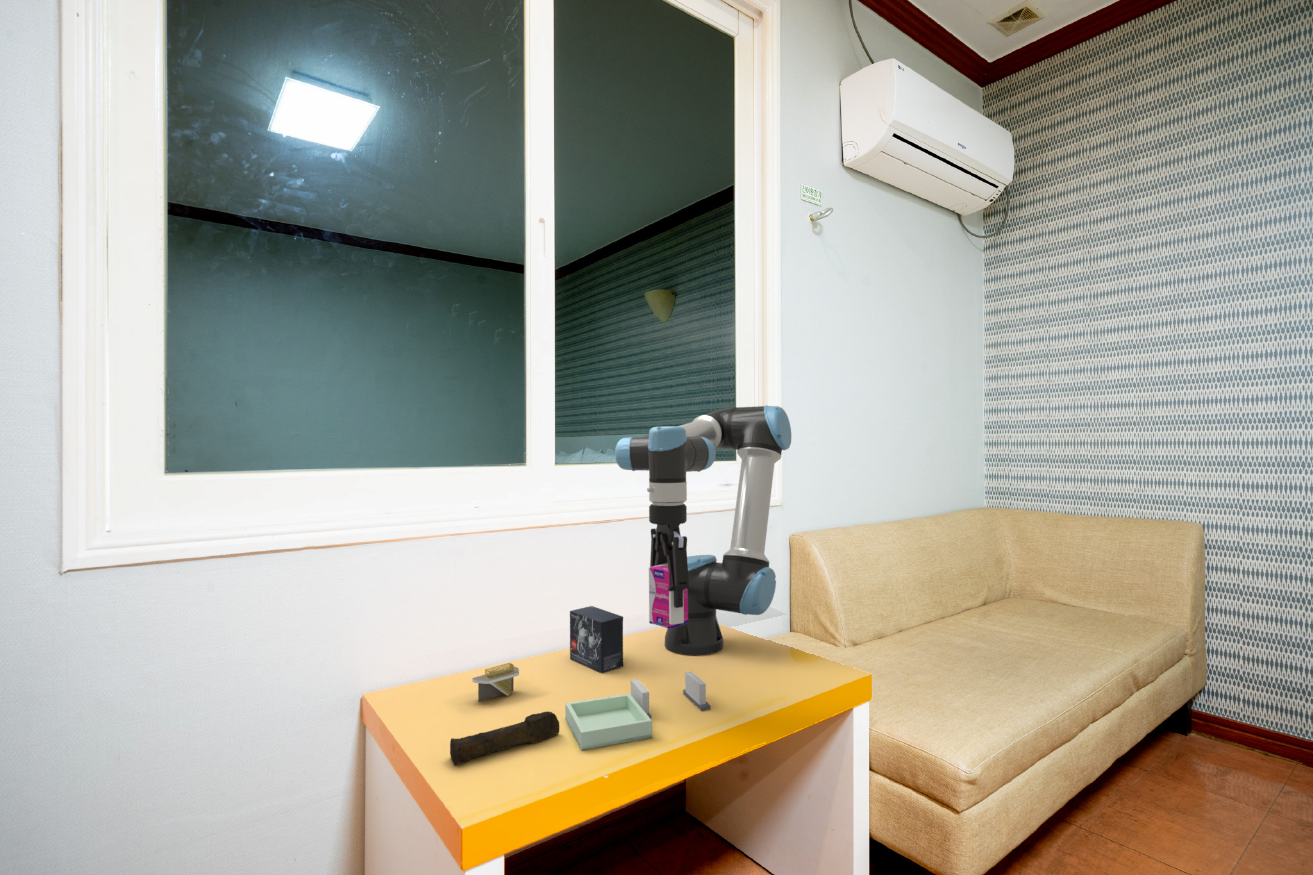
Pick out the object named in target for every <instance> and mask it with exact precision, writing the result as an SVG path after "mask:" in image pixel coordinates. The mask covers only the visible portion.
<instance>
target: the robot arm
mask: <svg viewBox="0 0 1313 875" xmlns="http://www.w3.org/2000/svg"><path fill="white" fill-rule="evenodd" d="M791 444H792V428H791V423H790V420H789V417H788V414H787V412H786V411H785V409H783V407H781V406H779V405H776V406H775V405H767V404H766V405H761V406H759V405H758V406H738V407H726V408H723V409H718V410H715V411H712V412H708V413H705V414H702V415H699V416H697V417H695V418H694V419H693V420H692V421H690V422H688V423H685V424H681V425H678V426H677V425H676V426H675V425H674V426H672V425H671V426H668V425H667V426H653V427H651V428H650V429H649V432H648V434H646V435H642V436H636V437H635V436H629V437H623V438H621V439H619V441H618V442H617V443H616V445H615V449H614V454H615V461H616V463H617V464H616V465H617V466H618V467H619V468H621V469H622V470H626V471H632V472H635V471H645V472H646V471H647V472H648V473H649V474H648V475H649V476H648V484H649V485H648V487H647V488H646V491H647V493H649V494H648V495H649V496H648V498H649V500H648V501H649V502H650V503H651V504H650V505H649V506H648V516H649V518H648V521H649V523H651V524H653V525H656V528H651V529H650V539H651V541H650V563H649V567H653V566H657V565H661V564H664V563H668V569H669V571H670V583H671V588H668V591H669V624H671V625H672V624H680V623H684V590H685V589H688V623H687V624H684V625H681V626H678V627H675V628H672V629H668V628H666V632H665V635H664V648H665V649H666V650H668V651H671V652H673V653H675V654H680V655H685V656H686V655H687V656H705V655H712V654H715V653H718V652H721V650H723V648H724V636H723V634H722V631H721V626H720V624H719V620H718V618H717V610H719V611H723V612H730V613H737V614H741V615H744V616H745V615H746V616H747V615H751V616H752V615H753V616H760V615H763V614H764V613H765V612H767V610H768V609H769V607H770V606H771V604H772V602H773V599H774V597H775V596H774V595H775V592H776V588H777V580H776V579H777V578H776V577H777V576H776V573H775V571H774V569H773V568H771V567H770V560H769V559H768V557H767V556H766V555H765V550H766V542H767V532H768V524H769V516H770V507H771V506H770V505H771V496H772V489H773V479H774V472H775V471H774V470H775V464H776V463H777V462H779V461H780V460H781V459H782V454H783V453H782V452H783V451H787V450H789V448H790V446H791ZM716 450H734V451H735V450H736V454H737V455H738V456H739V458H740V459H741V464H740V471H739V477H738V478H739V480H738V485H737V486H738V487H737V495H736V501H735V502H736V503H735V508H734V518H733V524H732V525H733V526H732V532H731V540H730V548H729V550H727V551H726V552H725V553H723V555H722V562H717V561H718V559H717V558H716V556H715V555H712V554H699V555H698V554H697V555H690V556H689V555H688V552H687V546H688V537H687V536H686V535H685V536H682V535H681V530H680V526H681V524H682V525H683V524H685V523H687V519H688V517H687V515H688V514H687V510H688V509H687V505H686V504H685V502H687V500H688V498H687V496H688V492H687V491H688V489H687V488H688V487H687V473H691V472H698V473H699V472H701V471H705V470H708V469H709V468H711V467H712V465H713V464H714V463H715V461H716V454H717V452H716Z"/></svg>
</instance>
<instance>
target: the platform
mask: <svg viewBox="0 0 1313 875" xmlns="http://www.w3.org/2000/svg"><path fill="white" fill-rule="evenodd" d="M518 676H520V670H519V667H517V666H515V665H514V663H511V662H507V663H504V664H500V665H496V666H492V667H487V668H485V669H484V674H482V675H479V676H475V677H472V679H471V681H472V683H474V684H477V686H478V688H477V689H478V690H477V696H478V698H477V700H478V702H482V701H485V700H488V699H491V698H495V697H497V696H498V697H499V696H503V695H505V696H512V692H514V691H515V689H514V684H515V683H514V678H515V677H518Z"/></svg>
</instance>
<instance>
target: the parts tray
mask: <svg viewBox="0 0 1313 875" xmlns="http://www.w3.org/2000/svg"><path fill="white" fill-rule="evenodd" d="M564 707H565V709H564V711H565V712H564V713H565V714H564V715H565V717H564V719H565V722H566V723H567V726H568V727H569V729H570V731H571V734H572V736H573V737H574V739H575V741H576V742H577V745H578V747H579V748H580V750H581V751H587V750H590V749H591V750H592V749H596V748H602V747H607V746H615V745H620V744H625V743H629V742H630V743H632V742H635V741H641V740H646V739H651V738H653V720H652V718H651V719H650V718H649V716H648V715H647V714H646V713H645V712H644V710H643V709H642V708H641V707H640V706H639V704H638V703H637V702H636V701H635V700H634V698H633V697H632V696H631V693H627V694H625V693H624V694H619V695H618V694H617V695H613V696H612V695H611V696H605V697H598V698H591V699H584V700H578V701H572V702H565V705H564Z"/></svg>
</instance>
